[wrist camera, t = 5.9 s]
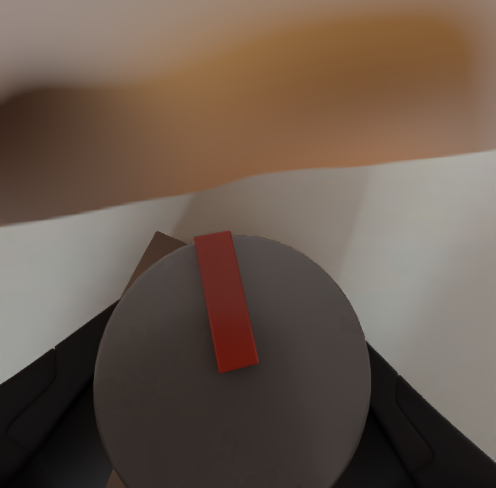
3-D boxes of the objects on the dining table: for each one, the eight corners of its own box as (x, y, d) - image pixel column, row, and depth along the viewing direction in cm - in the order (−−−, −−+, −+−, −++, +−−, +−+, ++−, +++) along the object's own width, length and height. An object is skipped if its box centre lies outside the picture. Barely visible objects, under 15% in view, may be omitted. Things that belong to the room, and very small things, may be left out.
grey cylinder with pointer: (278, 366, 13) (427, 497, 4) (189, 390, 12) (97, 619, 3) (258, 279, 13) (336, 206, 4) (174, 297, 13) (67, 257, 4)
